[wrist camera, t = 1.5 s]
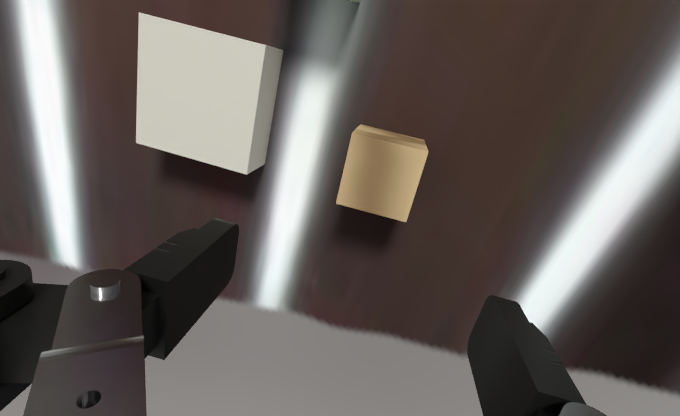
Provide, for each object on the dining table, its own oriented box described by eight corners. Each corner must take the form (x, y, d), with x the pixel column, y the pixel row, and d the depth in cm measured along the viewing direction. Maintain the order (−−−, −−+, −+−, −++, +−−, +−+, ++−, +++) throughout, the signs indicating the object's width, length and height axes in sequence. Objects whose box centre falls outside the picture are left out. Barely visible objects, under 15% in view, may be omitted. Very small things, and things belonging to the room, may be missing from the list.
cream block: (284, 50, 26) (265, 45, 23) (266, 163, 30) (246, 174, 26) (175, 22, 27) (138, 12, 23) (168, 135, 30) (136, 142, 27)
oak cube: (423, 139, 27) (428, 151, 22) (405, 199, 29) (406, 222, 24) (360, 124, 27) (352, 132, 22) (346, 184, 29) (335, 203, 24)
